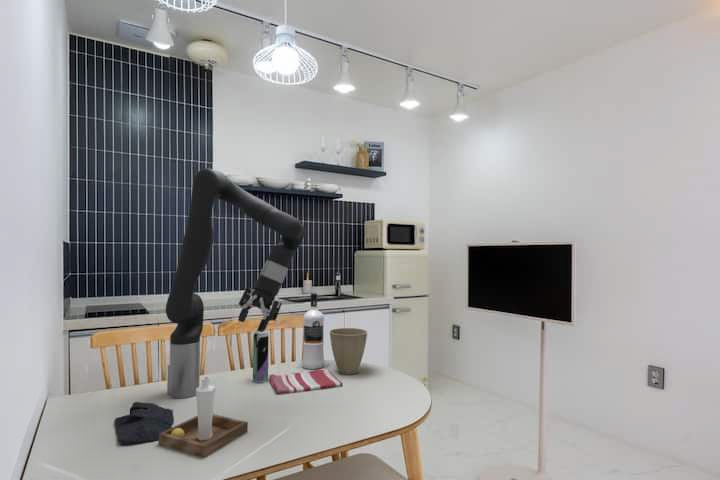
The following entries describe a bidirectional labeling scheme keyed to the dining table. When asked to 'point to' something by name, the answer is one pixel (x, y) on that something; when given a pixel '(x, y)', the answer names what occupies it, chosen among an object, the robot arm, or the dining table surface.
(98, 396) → the dining table surface
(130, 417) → the dark folded fabric bundle
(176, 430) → the ball
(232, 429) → the tray
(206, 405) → the white faceted vase
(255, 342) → the spray can
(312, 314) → the vodka
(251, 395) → the dining table surface
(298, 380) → the dish towel
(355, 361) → the plant pot
